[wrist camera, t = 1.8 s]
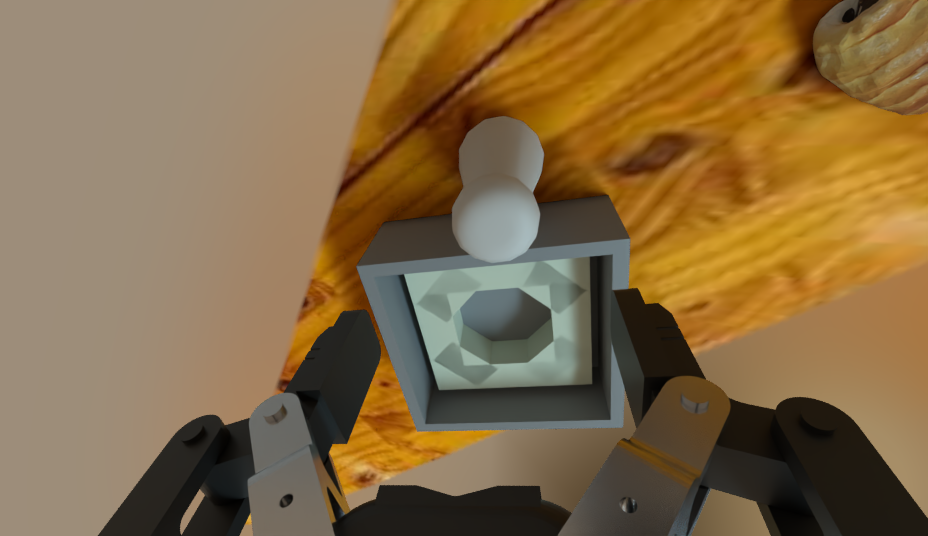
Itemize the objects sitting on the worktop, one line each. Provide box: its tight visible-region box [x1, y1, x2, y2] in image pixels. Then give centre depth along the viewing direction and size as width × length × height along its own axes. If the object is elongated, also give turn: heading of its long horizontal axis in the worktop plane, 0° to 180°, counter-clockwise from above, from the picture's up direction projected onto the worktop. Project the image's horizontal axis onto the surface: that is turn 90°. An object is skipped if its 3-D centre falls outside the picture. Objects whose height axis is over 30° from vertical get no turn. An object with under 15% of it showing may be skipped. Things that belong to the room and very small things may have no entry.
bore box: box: [356, 195, 630, 431], centre depth 34 cm, size 18×18×7 cm
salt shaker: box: [452, 116, 544, 263], centre depth 24 cm, size 6×6×13 cm
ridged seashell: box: [813, 0, 928, 115], centre depth 23 cm, size 9×7×4 cm
